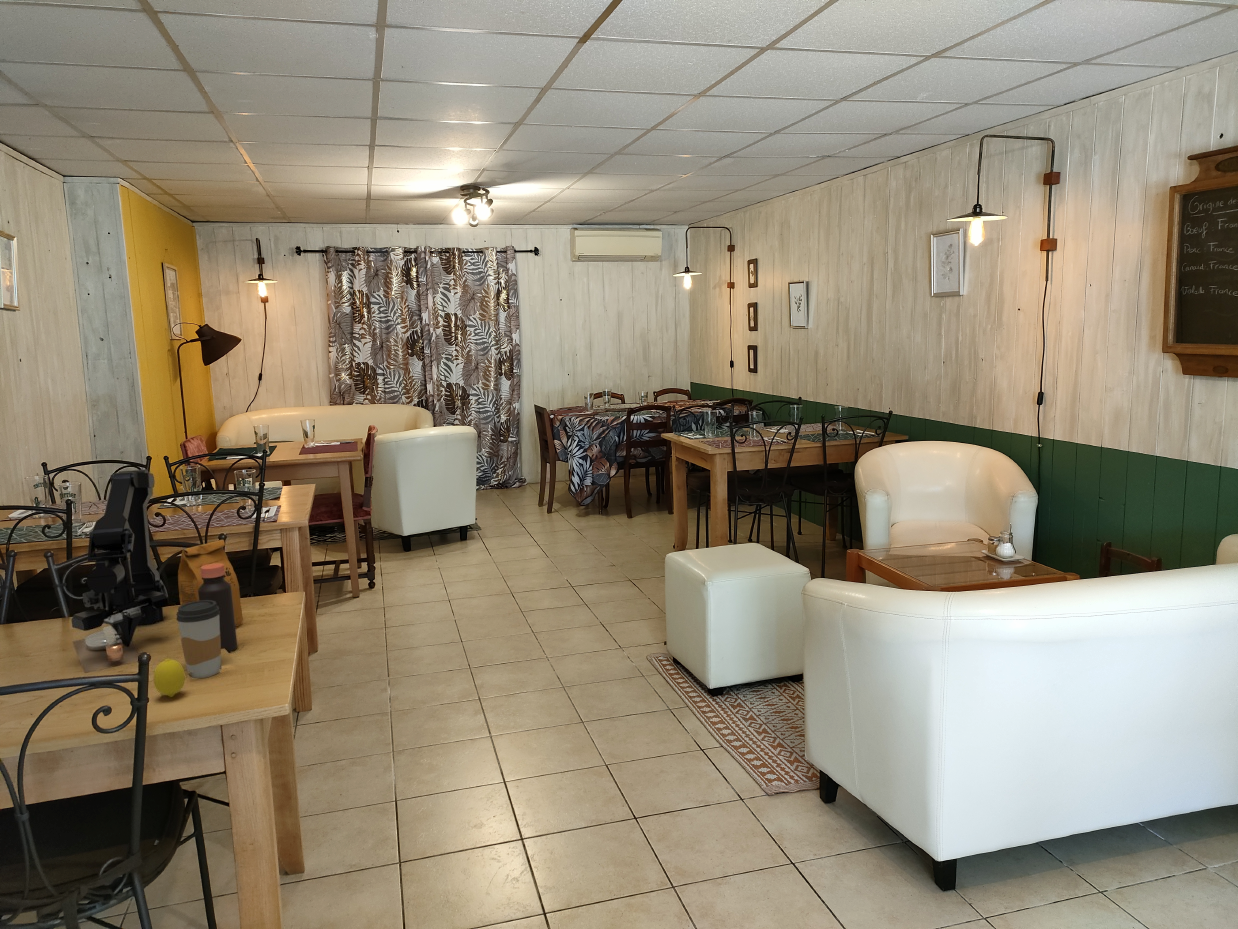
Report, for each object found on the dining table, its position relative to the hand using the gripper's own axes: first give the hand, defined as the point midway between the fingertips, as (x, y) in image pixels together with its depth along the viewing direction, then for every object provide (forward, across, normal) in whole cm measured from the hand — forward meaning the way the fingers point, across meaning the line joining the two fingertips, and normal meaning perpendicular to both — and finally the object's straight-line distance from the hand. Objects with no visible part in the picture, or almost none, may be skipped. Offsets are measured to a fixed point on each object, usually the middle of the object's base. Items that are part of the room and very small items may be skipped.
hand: (127, 646), depth 191 cm
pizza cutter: (+1, +2, -3) cm, 4 cm away
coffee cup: (+3, -3, +24) cm, 25 cm away
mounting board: (+3, +2, -5) cm, 6 cm away
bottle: (+3, -13, +15) cm, 20 cm away
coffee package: (+3, -20, +1) cm, 20 cm away
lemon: (+3, +8, +30) cm, 31 cm away
